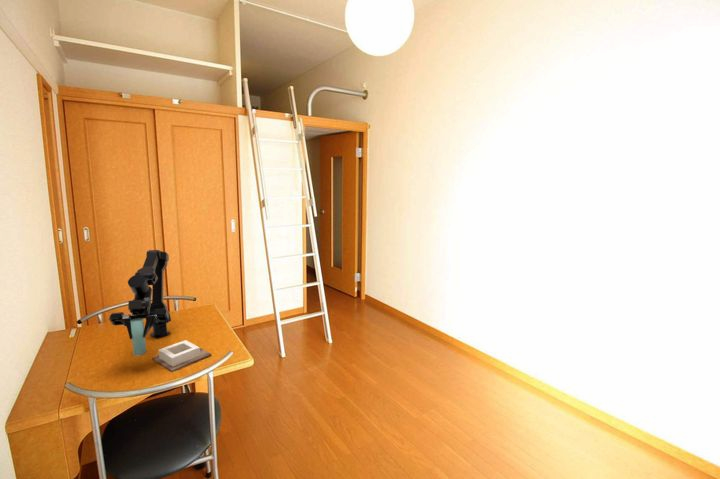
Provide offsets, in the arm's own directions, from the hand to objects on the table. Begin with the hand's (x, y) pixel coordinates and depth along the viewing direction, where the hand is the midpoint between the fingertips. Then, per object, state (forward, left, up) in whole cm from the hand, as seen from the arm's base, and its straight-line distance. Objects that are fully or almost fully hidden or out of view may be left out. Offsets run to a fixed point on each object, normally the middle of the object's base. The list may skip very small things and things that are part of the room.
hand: (137, 338), depth 130 cm
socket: (+2, +14, -13) cm, 19 cm away
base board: (+2, +14, -13) cm, 19 cm away
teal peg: (-1, +1, -7) cm, 7 cm away
